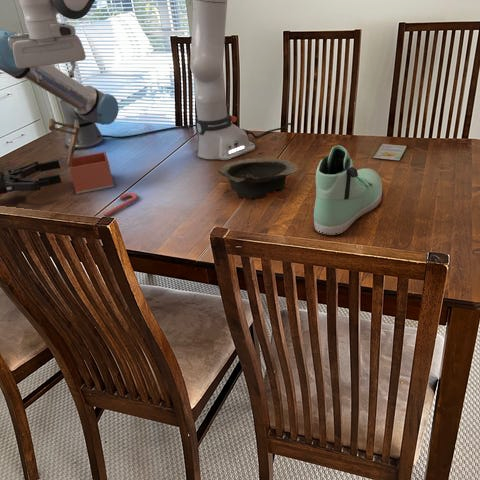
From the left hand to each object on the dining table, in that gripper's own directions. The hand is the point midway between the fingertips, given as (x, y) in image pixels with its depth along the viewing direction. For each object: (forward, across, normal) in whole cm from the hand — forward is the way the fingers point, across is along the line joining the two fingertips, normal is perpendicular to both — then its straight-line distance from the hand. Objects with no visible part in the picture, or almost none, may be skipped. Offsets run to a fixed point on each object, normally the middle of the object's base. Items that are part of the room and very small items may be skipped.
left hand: (60, 171), depth 160 cm
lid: (+7, 0, +8) cm, 11 cm away
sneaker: (+78, +54, -7) cm, 95 cm away
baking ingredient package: (+113, +24, -7) cm, 115 cm away
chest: (+10, 0, -7) cm, 12 cm away
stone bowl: (+59, +29, -7) cm, 67 cm away
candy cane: (+16, +21, -7) cm, 28 cm away
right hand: (+6, 0, +29) cm, 30 cm away
